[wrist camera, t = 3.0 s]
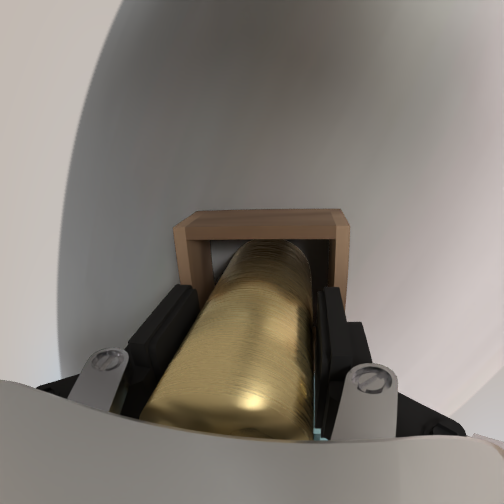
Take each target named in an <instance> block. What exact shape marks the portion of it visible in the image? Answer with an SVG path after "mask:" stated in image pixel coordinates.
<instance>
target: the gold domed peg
mask: <svg viewBox="0 0 504 504" xmlns="http://www.w3.org/2000/svg"><path fill="white" fill-rule="evenodd" d="M139 420H143V421H147V422H152V423H157V424H161V425H166V426H172V427H177V428H183V429H188V430H195V431H201V432H208V433H215V434H223V435H232V436H241V437H252V438H264V439H281V440H313V437H314V338H313V305H312V282H311V269H310V265H309V263H308V260H307V259H306V257H305V255H304V254H303V253H302V252H301V250H300V249H299V248H297V247H296V246H295V245H293V244H292V243H290V242H288V241H286V240H284V239H254V240H251V241H249V242H247V243H246V244H244V245H243V246H242V247H240V248H239V249H238V251H237V252H236V253H235V255H234V256H233V258H232V260H231V261H230V263H229V265H228V266H227V268H226V270H225V271H224V273H223V275H222V276H221V278H220V280H219V281H218V283H217V285H216V286H215V288H214V290H213V291H212V293H211V295H210V296H209V298H208V300H207V301H206V303H205V305H204V306H203V308H202V310H201V311H200V313H199V315H198V316H197V318H196V320H195V322H194V323H193V325H192V327H191V328H190V330H189V332H188V333H187V335H186V337H185V338H184V340H183V342H182V344H181V345H180V347H179V349H178V350H177V352H176V354H175V356H174V357H173V359H172V361H171V362H170V364H169V366H168V367H167V369H166V371H165V373H164V374H163V376H162V378H161V380H160V381H159V383H158V385H157V386H156V388H155V390H154V392H153V393H152V395H151V397H150V398H149V400H148V402H147V404H146V405H145V407H144V409H143V411H142V412H141V414H140V417H139Z"/></svg>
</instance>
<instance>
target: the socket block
mask: <svg viewBox="0 0 504 504" xmlns="http://www.w3.org/2000/svg"><path fill="white" fill-rule="evenodd" d="M173 234H174V242H175V249H176V257H177V264H178V271H179V278H180V284H181V285H191V286H192V287H193V289H196V290H197V293H198V299H199V306H200V311H201V310H202V308H203V306H204V305H205V303H206V301H207V300H208V298H209V296H210V295H211V293H212V291H213V290H214V288H215V286H214V277H213V267H212V258H211V248H210V240H227V239H329V260H328V285H327V287H339V288H340V293H341V297H342V302H343V306H344V311H345V304H346V292H347V278H348V262H349V242H350V225H349V223H348V221H347V219H346V218H345V216H344V214H343V212H342V211H341V209H253V210H216V211H197V212H195V213H194V214H192V215H191V216H189V217H188V218H186V219H185V220H183V221H182V222H180V223H179V224H177V225H176V226H174V227H173ZM313 338H314V357H315V340H316V327H313ZM314 371H315V366H314Z"/></svg>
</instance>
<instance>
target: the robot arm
mask: <svg viewBox="0 0 504 504" xmlns="http://www.w3.org/2000/svg"><path fill="white" fill-rule="evenodd" d="M199 313H200V306H199V299H198V293H197V290H196V289H193V287H192V286H191V285H180V284H177V285H175V286H174V288H173V289H172V290H171V291H170V292H169V293H168V295H167V296H166V297H165V298H164V299H163V300H162V302H161V303H160V304H159V305H158V306H157V308H156V309H155V310H154V311H153V312H152V314H151V315H150V316H149V317H148V318H147V320H146V321H145V322H144V323H143V324H142V326H141V327H140V328H139V329H138V330H137V332H136V333H135V334H134V335H133V336H132V338H131V339H130V340H129V341H128V346H127V347H126V348H125V349H124V350H123V349H121V348H115V347H113V348H105V349H102V350H99V351H97V352H95V353H94V354H93V355H91V356H90V358H89V359H88V361H87V362H86V364H85V366H84V368H83V370H82V371H81V373H80V374H78V375H74V376H71V377H68V378H65V379H61V380H58V381H55V382H51V383H48V384H44V385H41V386H38V387H37V388H33V387H30V386H27V385H24V384H20V383H16V382H11V381H5V380H0V504H504V442H502V441H499V440H495V439H491V438H488V437H485V436H481V435H478V434H475V433H474V434H473V436H472V437H469V436H467V435H466V433H465V430H464V429H463V427H462V426H461V425H460V424H459V423H457V422H456V421H454V420H452V419H450V418H448V417H446V416H444V415H442V414H440V413H438V412H436V411H434V410H432V409H430V408H428V407H426V406H424V405H422V404H420V403H418V402H416V401H414V400H412V399H410V398H409V397H407V396H405V395H403V394H401V393H399V392H398V380H397V376H396V375H395V373H394V372H393V371H392V370H391V369H389V368H388V367H386V366H383V365H381V364H375V363H372V359H371V355H370V351H369V347H368V343H367V340H366V336H365V332H364V329H363V325H362V322H347V321H346V316H345V311H344V306H343V302H342V297H341V293H340V288H339V287H324V291H318V300H317V322H316V340H315V357H314V366H315V418H314V428H315V429H321V438H326V439H327V440H281V439H264V438H252V437H241V436H232V435H223V434H215V433H208V432H201V431H195V430H188V429H183V428H177V427H172V426H166V425H161V424H157V423H152V422H147V421H143V420H139V417H140V414H141V412H142V411H143V409H144V407H145V405H146V404H147V402H148V400H149V398H150V397H151V395H152V393H153V392H154V390H155V388H156V386H157V385H158V383H159V381H160V380H161V378H162V376H163V374H164V373H165V371H166V369H167V367H168V366H169V364H170V362H171V361H172V359H173V357H174V356H175V354H176V352H177V350H178V349H179V347H180V345H181V344H182V342H183V340H184V338H185V337H186V335H187V333H188V332H189V330H190V328H191V327H192V325H193V323H194V322H195V320H196V318H197V316H198V315H199Z"/></svg>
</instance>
